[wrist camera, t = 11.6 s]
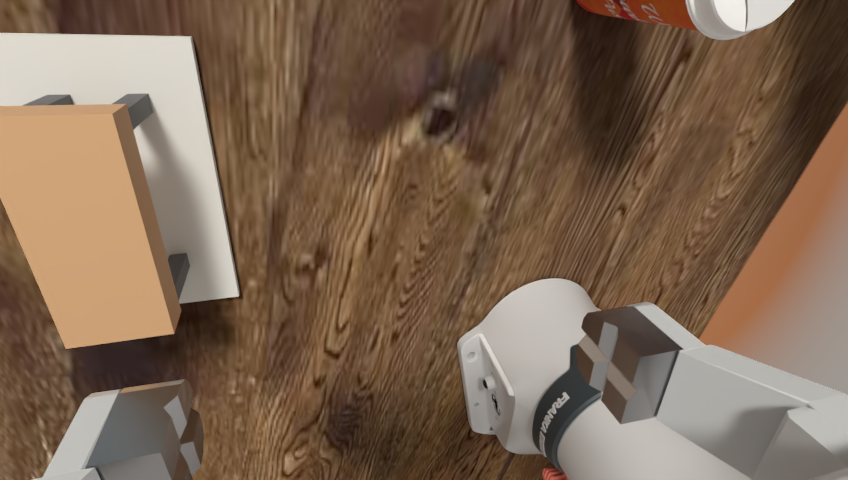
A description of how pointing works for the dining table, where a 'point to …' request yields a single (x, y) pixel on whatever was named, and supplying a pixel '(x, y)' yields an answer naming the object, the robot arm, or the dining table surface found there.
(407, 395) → the dining table surface
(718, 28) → the paper cup
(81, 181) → the bench model
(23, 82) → the felt mat
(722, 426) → the robot arm
